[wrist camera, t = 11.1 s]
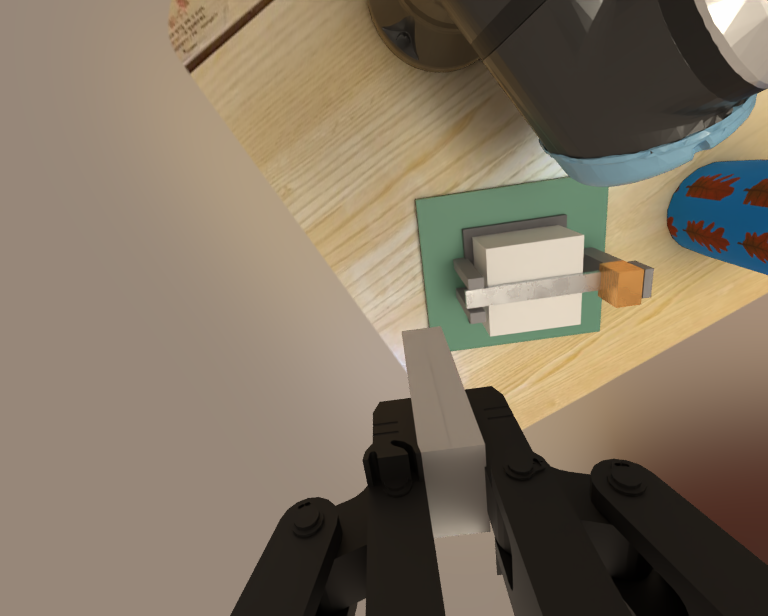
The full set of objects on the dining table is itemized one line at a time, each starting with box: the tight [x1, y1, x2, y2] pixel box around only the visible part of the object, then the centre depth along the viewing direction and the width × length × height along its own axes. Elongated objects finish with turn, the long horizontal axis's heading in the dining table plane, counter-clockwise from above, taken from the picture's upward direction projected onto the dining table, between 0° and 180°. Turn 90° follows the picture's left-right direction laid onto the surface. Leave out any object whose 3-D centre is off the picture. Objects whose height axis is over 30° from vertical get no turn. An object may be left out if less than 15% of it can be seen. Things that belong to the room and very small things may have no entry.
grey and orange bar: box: [465, 260, 644, 309], centre depth 41 cm, size 4×16×4 cm, turn 98°
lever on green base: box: [415, 177, 654, 351], centre depth 45 cm, size 20×22×11 cm
